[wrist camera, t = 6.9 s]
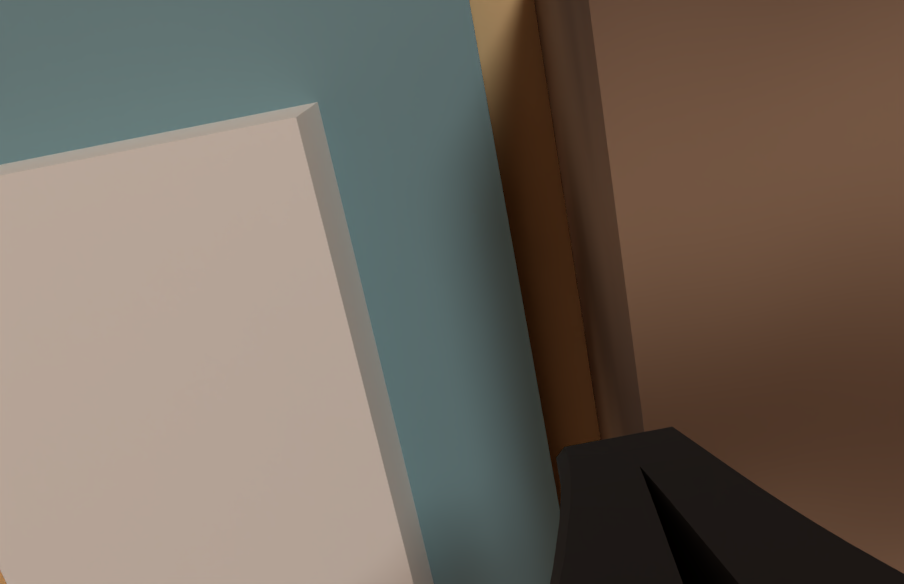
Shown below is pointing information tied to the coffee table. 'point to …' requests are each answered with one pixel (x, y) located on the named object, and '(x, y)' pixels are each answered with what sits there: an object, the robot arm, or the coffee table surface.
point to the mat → (346, 213)
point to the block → (194, 368)
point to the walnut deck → (744, 236)
